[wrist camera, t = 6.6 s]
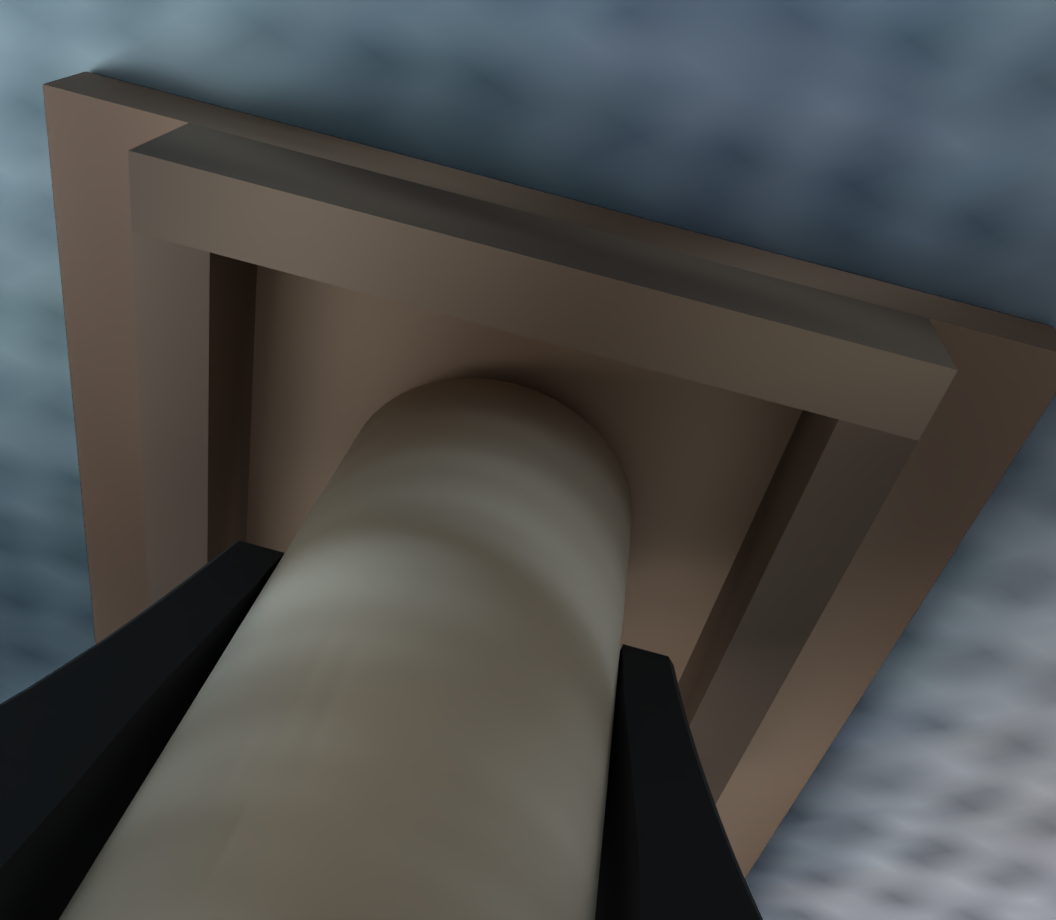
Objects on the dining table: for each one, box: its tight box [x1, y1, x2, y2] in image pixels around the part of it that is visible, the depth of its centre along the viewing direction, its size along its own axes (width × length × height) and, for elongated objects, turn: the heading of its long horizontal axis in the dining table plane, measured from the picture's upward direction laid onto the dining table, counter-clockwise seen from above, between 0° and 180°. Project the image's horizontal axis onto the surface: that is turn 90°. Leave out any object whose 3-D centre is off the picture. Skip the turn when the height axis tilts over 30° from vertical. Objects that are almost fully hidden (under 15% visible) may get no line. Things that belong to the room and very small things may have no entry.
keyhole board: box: [43, 72, 1056, 878], centre depth 18 cm, size 14×24×2 cm, turn 168°
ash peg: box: [59, 378, 632, 920], centre depth 10 cm, size 4×4×8 cm
